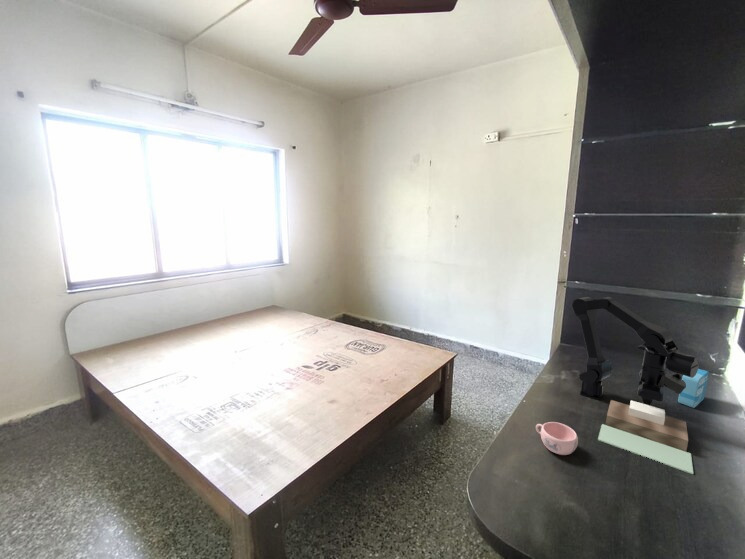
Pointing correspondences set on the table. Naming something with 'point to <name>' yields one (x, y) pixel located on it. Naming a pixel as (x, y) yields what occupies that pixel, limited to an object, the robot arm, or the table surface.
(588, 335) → the robot arm
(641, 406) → the tile
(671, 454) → the mat
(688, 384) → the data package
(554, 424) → the mug
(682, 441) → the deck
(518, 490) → the table surface
